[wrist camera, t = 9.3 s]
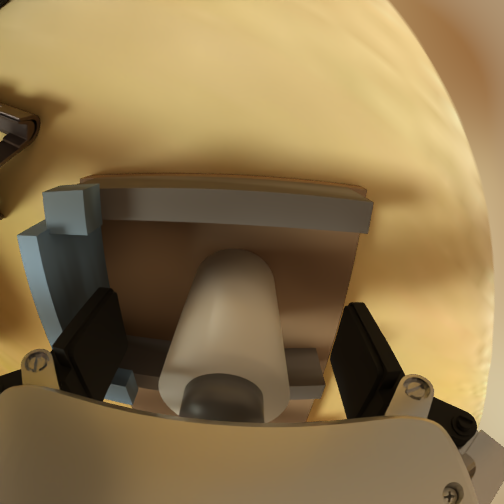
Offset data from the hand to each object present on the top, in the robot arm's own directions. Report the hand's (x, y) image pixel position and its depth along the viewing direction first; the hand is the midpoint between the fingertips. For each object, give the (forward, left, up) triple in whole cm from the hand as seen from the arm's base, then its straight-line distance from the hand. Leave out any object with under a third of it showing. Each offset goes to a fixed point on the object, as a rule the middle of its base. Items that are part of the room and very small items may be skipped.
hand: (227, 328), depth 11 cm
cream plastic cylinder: (0, 0, -3) cm, 3 cm away
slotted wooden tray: (-5, +1, -4) cm, 7 cm away
